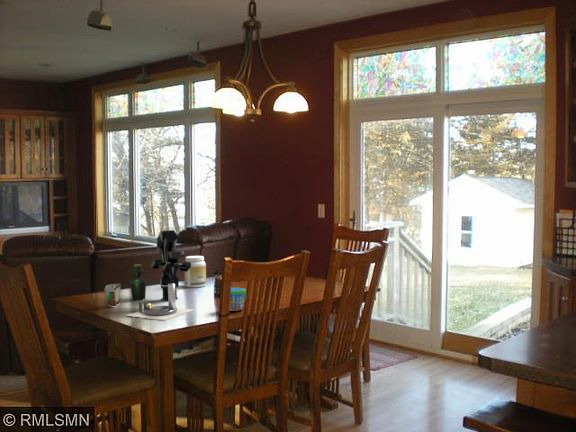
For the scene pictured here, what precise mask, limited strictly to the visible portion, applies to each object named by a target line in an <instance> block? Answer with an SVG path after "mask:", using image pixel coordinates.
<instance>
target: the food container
mask: <svg viewBox="0 0 576 432" xmlns="http://www.w3.org/2000/svg"><path fill="white" fill-rule="evenodd" d="M121 287H122V286H121V283H113V284H107V285H105V287H104V292H105V293H106V303H107V306H108V305H110V306H116V305H117V304H119V303H120V304H121Z"/></svg>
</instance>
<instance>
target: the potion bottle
mask: <svg viewBox="0 0 576 432" xmlns="http://www.w3.org/2000/svg"><path fill="white" fill-rule="evenodd" d="M133 266H134V268H133V269H132V270H131V272H132V273H133V274H134V277H133V278H132V279H130V281H129V282H130V291H131V300H132V301H135V300H139V301H144V300H145V299H146V295H147V294H146V291H147V280H146V278H144V277H142V273H143V272H144V269H143V268H142V264H141V263H138V264H133ZM143 299H144V300H143Z"/></svg>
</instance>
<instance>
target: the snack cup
mask: <svg viewBox="0 0 576 432" xmlns="http://www.w3.org/2000/svg"><path fill="white" fill-rule="evenodd" d="M230 288H231V292H230V309H242V308H243V309H244V303H245V302H246V301H245V298H247V293H246V291H247V290H246V288H244V287H230ZM243 309H242V310H243Z"/></svg>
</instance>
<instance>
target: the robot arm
mask: <svg viewBox="0 0 576 432" xmlns="http://www.w3.org/2000/svg"><path fill="white" fill-rule="evenodd" d="M178 239H179V235H178V232H176V230H175V229H172V230H171V229H170V230H161V231H160V233H159V235H158V236H157V238H156V249H157V252H158V254H160V255H161V258H154V259H153V261H152V262H151V265H150V266H151V267H150V268H151V269H153V270H158V269H159V268H160V267H163V269H162V272H161V276H160V284H159V285H160V289H162V298H160V300H161V301H168V284H170V283H174V284H175V300H178V299H179V297H178V293H177V288H179V287H180V286H179V285H180V284H179V282H180V278H179V277H178V275H177V272H178V271H181V272H183V273H184V272H187V271H188V270H189V269H190V267H191V263H190V262H186V260H185V261H184V260H183V261H181V263H179V261H180V260H181V259H183V258H185V251H183V250H180V251H177V249H176V247H177V246H176V245H177V241H178Z"/></svg>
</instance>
